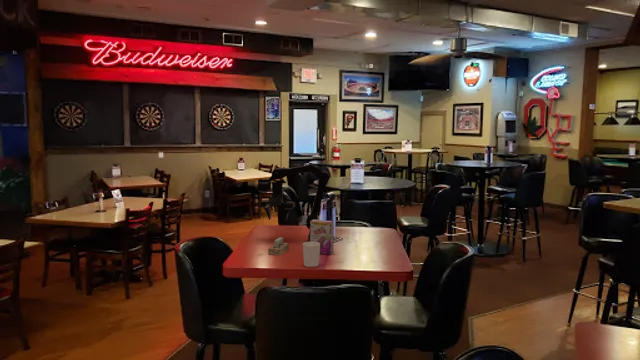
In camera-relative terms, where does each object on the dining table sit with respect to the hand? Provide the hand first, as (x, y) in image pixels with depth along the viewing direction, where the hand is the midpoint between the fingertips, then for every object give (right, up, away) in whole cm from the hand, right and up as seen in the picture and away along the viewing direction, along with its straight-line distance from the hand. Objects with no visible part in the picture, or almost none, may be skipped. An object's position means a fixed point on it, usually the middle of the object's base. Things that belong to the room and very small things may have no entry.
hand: (277, 220), depth 263 cm
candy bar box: (+24, -15, -21) cm, 35 cm away
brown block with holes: (+2, -15, -19) cm, 24 cm away
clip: (+2, -14, -19) cm, 23 cm away
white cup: (+19, -17, -43) cm, 50 cm away
